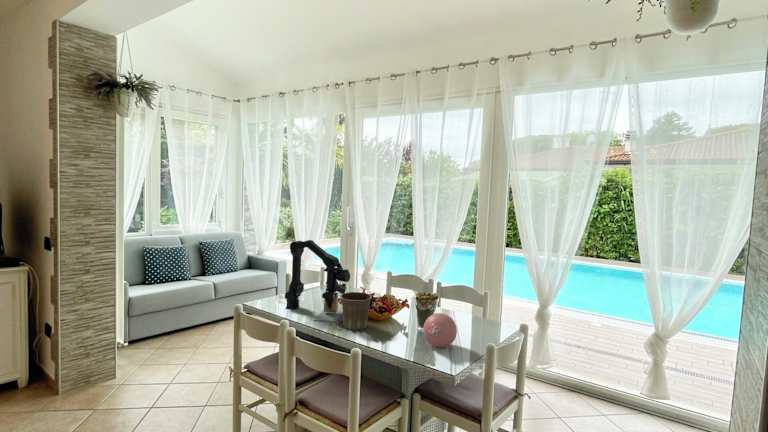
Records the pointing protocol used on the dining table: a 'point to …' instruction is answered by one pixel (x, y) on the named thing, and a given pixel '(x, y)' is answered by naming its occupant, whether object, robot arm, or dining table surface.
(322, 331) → the dining table surface
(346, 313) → the plant pot
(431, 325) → the pink ball
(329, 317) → the mat
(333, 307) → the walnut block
